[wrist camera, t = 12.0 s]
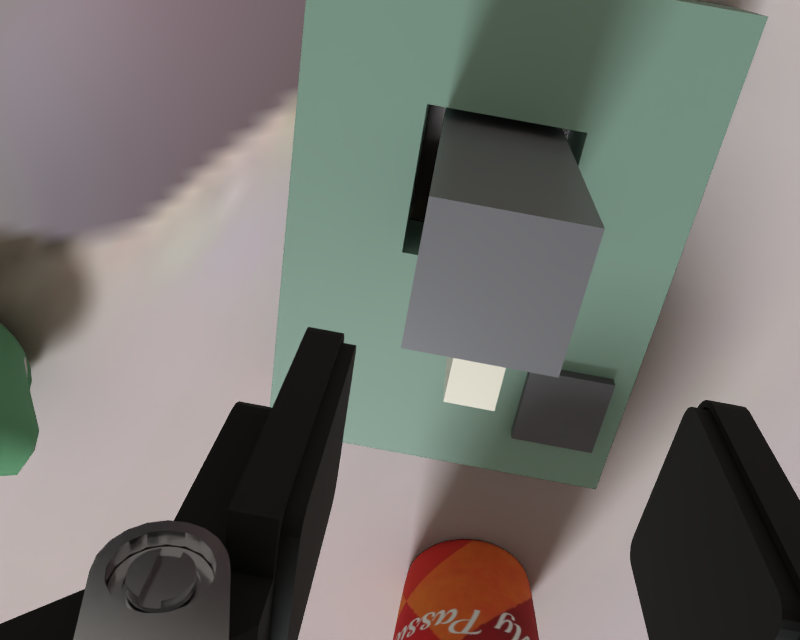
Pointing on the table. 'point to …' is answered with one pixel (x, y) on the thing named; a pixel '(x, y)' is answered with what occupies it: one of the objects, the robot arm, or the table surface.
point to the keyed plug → (501, 254)
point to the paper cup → (466, 595)
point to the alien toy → (15, 406)
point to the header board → (400, 237)
